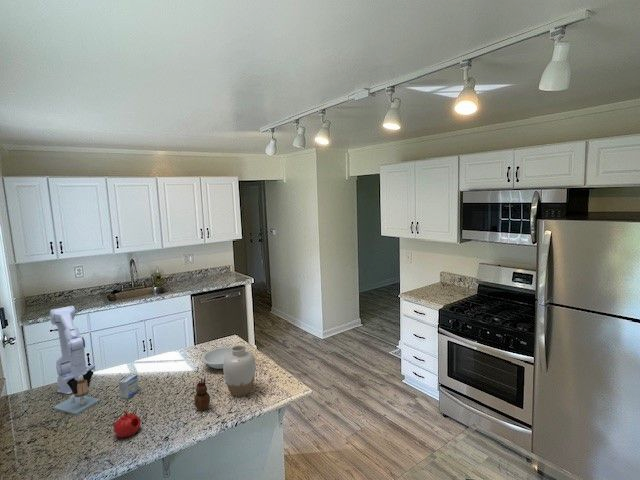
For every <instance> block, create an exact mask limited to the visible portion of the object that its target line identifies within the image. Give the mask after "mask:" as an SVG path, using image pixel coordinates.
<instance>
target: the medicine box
mask: <svg viewBox="0 0 640 480" xmlns="http://www.w3.org/2000/svg"><path fill="white" fill-rule="evenodd" d="M118 383H119V385H118V386H119V395H120V399H130V398H131V397H133V396H134V395H135V394H136V393H138V392H139V391H140V389H139V388H140V385H139V376H138V374H129V375H127V376H126V377H124V378H123V379H121V380H120V381H119V382H118Z"/></svg>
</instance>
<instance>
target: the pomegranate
mask: <svg viewBox="0 0 640 480" xmlns="http://www.w3.org/2000/svg"><path fill="white" fill-rule="evenodd" d="M119 417H120V418H119ZM117 418H118V419H117V420H116V421H115V422H114V424H113V432H114V433H115V435H116V436H117V437H119V438H128V437H131V436H133V435H135V434H137V432H138V431H139V429H140V426H141V421H142V420H141V417H139V416H138V415H137V414H136V412H131V413H130V412H128V410H125V411H124V415H118V416H117Z"/></svg>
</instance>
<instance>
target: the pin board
mask: <svg viewBox="0 0 640 480" xmlns="http://www.w3.org/2000/svg"><path fill="white" fill-rule="evenodd" d="M100 402H101V399H100V398H95V397H93V396H88V395H85V396H83V397H78V398H77V397H75V395H74V394H70V397H69V398H68V399H65V400H64V401H62V402H59V403H58V404H57V405H54V406H53V407H52V409H53V410H56V411H60V412H64V413H67V414H71V415H75V416H78V415H79V414H81V413H82V412H83V411H86V410H87V409H89V408H91V407H92V406H94V405H96V404H98V403H100Z"/></svg>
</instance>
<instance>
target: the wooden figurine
mask: <svg viewBox="0 0 640 480" xmlns="http://www.w3.org/2000/svg"><path fill="white" fill-rule="evenodd" d="M195 387H196V388H195V393H196V394H195V395H194V398H193V399H194V400H193V401H194V405H195V408H196V409H197V410H198V411H206V410H208V408H209V406H210V404H211V403H210V402H211V397H210V394H209V392H207V391H208V387H207V385H206V377H204V379H203V378H200V380H198V382H197V383H196V386H195ZM205 409H206V410H205Z"/></svg>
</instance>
